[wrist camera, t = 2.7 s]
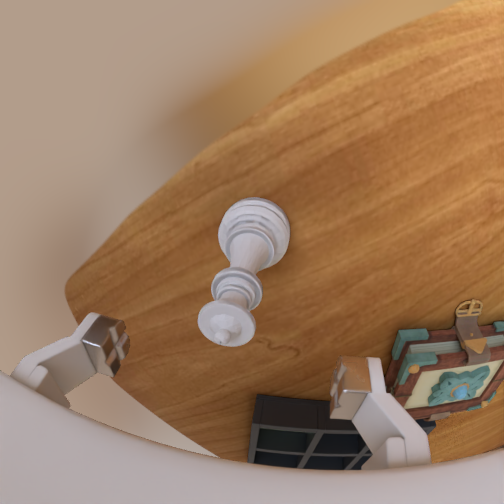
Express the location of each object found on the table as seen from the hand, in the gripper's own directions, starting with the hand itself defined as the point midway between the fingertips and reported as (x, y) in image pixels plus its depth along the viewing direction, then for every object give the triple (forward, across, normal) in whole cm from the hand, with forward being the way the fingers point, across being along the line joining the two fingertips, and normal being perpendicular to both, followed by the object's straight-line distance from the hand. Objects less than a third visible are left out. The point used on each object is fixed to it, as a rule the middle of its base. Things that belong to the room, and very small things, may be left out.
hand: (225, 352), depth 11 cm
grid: (+11, -11, +28) cm, 32 cm away
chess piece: (+11, 0, 0) cm, 11 cm away
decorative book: (+11, -21, +10) cm, 25 cm away
